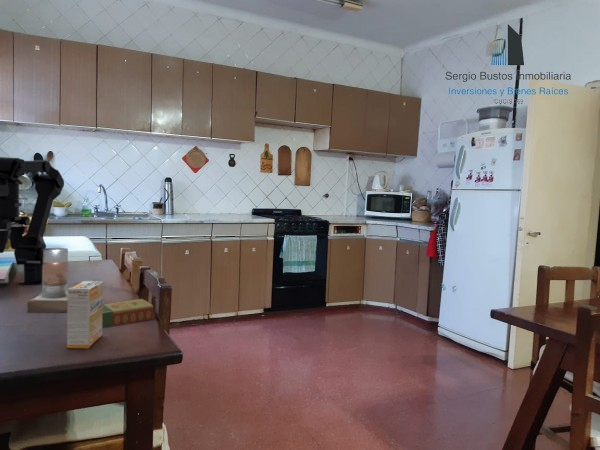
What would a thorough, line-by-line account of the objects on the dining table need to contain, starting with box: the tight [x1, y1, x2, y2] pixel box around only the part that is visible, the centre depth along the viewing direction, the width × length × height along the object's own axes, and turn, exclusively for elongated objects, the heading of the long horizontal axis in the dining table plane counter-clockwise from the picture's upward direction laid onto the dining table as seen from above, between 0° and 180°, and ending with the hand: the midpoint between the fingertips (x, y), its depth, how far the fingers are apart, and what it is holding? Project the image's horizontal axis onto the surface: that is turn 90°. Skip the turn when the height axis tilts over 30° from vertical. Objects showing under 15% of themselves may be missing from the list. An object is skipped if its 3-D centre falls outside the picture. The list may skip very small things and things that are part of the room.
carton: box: [102, 298, 154, 328], centre depth 115 cm, size 8×16×4 cm, turn 130°
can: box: [41, 247, 69, 298], centre depth 123 cm, size 6×6×13 cm
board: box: [26, 291, 68, 313], centre depth 123 cm, size 10×10×3 cm
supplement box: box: [66, 280, 104, 349], centre depth 98 cm, size 8×5×13 cm, turn 5°
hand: (7, 250), depth 134 cm, fingers open, 9 cm apart
